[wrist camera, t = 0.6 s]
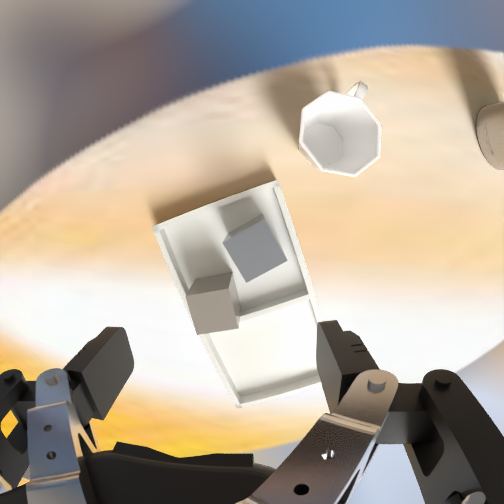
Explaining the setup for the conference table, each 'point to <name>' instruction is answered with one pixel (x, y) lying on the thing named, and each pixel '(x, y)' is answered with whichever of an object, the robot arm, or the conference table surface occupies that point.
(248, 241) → the matte grey cube
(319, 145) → the cup
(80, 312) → the conference table surface
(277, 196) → the divided tray
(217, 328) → the stone
